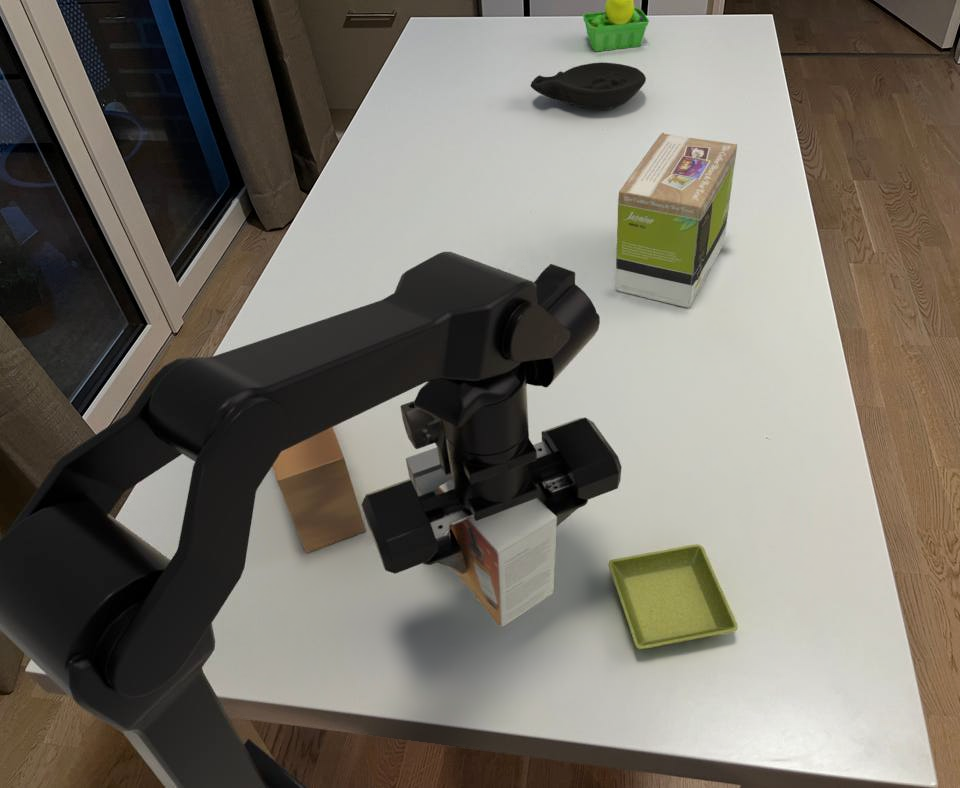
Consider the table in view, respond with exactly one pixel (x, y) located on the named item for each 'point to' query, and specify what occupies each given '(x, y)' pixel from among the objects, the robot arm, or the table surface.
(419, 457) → the grey grooved block
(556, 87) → the oil lamp
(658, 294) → the tea box
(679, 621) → the green square tray
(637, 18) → the fruit basket
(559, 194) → the table surface
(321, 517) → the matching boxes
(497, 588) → the small box
